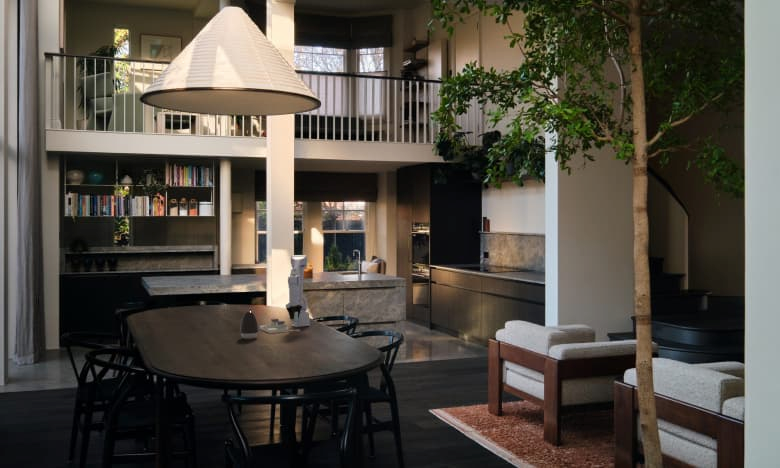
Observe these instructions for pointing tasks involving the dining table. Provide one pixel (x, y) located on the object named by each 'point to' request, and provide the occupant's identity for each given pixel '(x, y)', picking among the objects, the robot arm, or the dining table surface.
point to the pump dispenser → (249, 326)
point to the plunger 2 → (280, 322)
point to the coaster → (294, 330)
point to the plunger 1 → (274, 320)
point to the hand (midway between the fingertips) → (294, 318)
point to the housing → (274, 328)
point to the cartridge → (295, 317)
